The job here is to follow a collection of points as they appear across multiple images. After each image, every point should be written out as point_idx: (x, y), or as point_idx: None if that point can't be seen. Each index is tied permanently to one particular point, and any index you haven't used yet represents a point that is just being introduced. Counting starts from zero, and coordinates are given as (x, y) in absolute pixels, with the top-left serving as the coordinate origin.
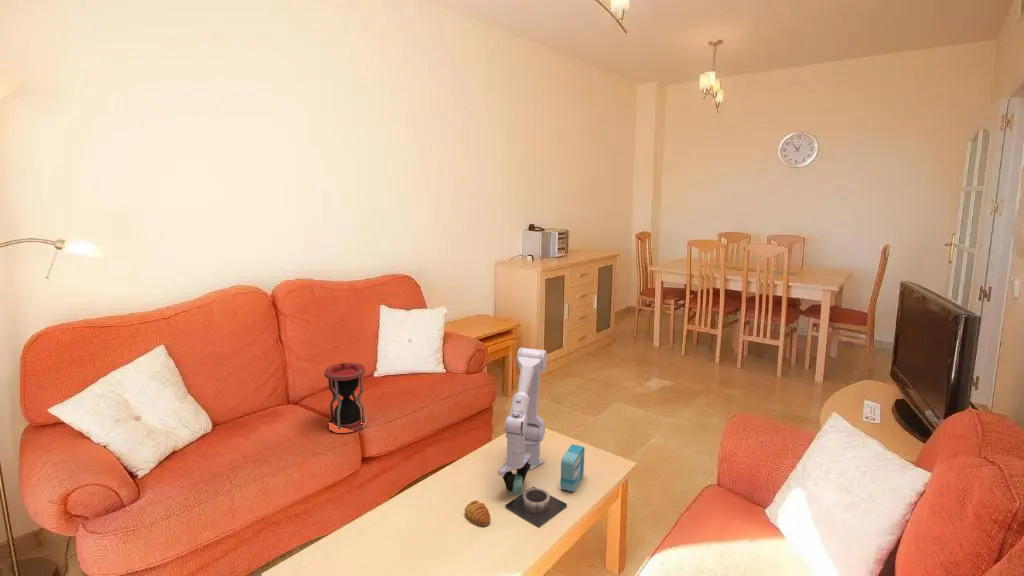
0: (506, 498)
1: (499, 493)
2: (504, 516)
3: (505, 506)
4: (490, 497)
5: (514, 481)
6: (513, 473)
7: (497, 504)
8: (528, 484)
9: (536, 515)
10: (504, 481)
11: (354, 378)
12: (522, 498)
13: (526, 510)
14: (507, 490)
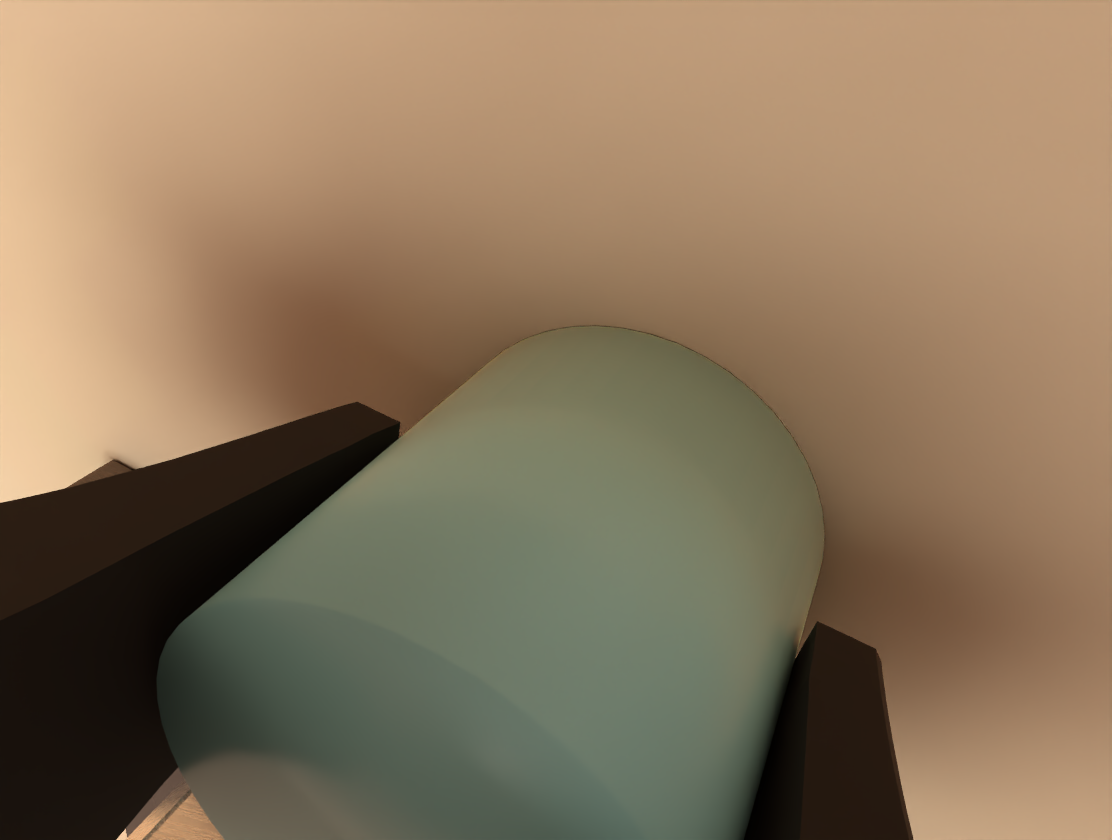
0: (292, 406)
1: (326, 185)
2: (6, 496)
3: (90, 477)
4: (95, 44)
5: (215, 818)
6: (603, 807)
7: (73, 304)
8: (1060, 783)
9: None
10: (80, 495)
11: None
12: (162, 826)
13: None
14: (521, 342)
